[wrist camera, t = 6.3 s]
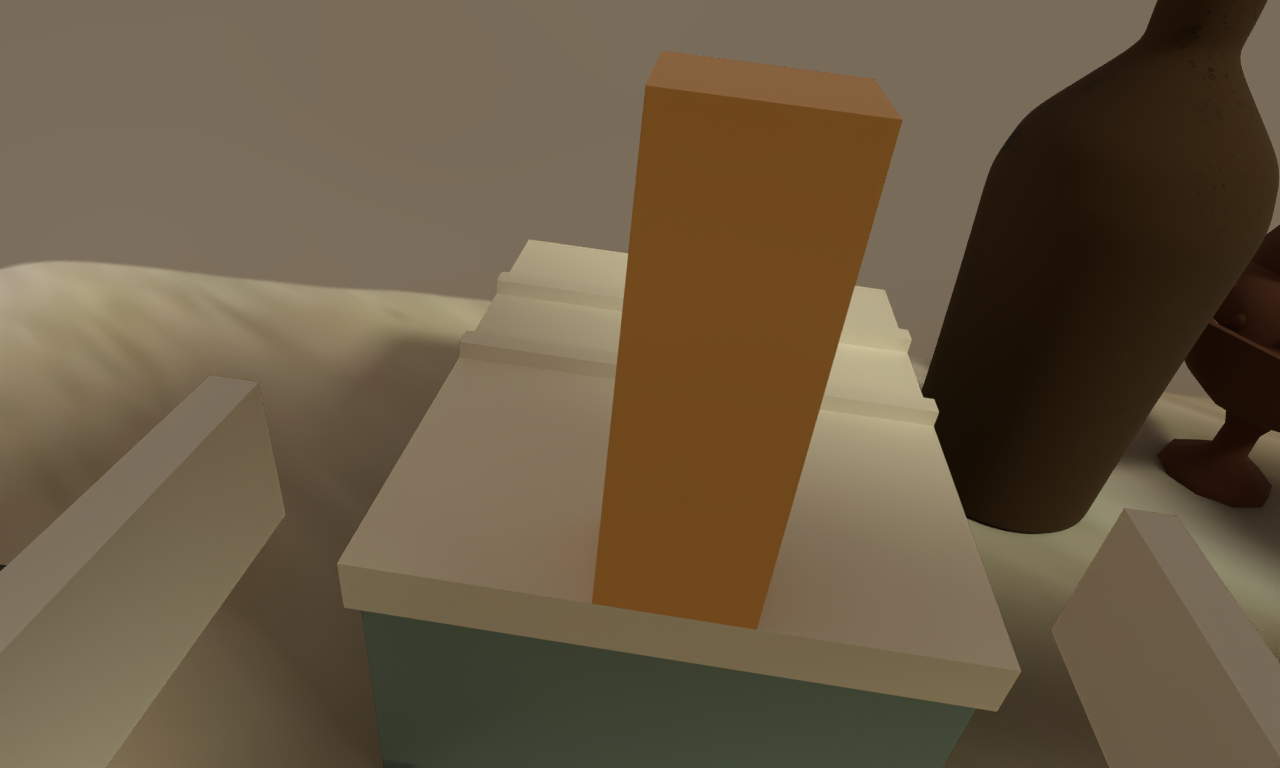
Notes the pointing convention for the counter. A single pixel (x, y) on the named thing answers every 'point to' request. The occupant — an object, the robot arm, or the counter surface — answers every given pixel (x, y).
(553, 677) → the tub
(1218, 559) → the counter surface
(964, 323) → the olive oil
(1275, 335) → the ice cream bowl
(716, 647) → the lid
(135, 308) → the counter surface
